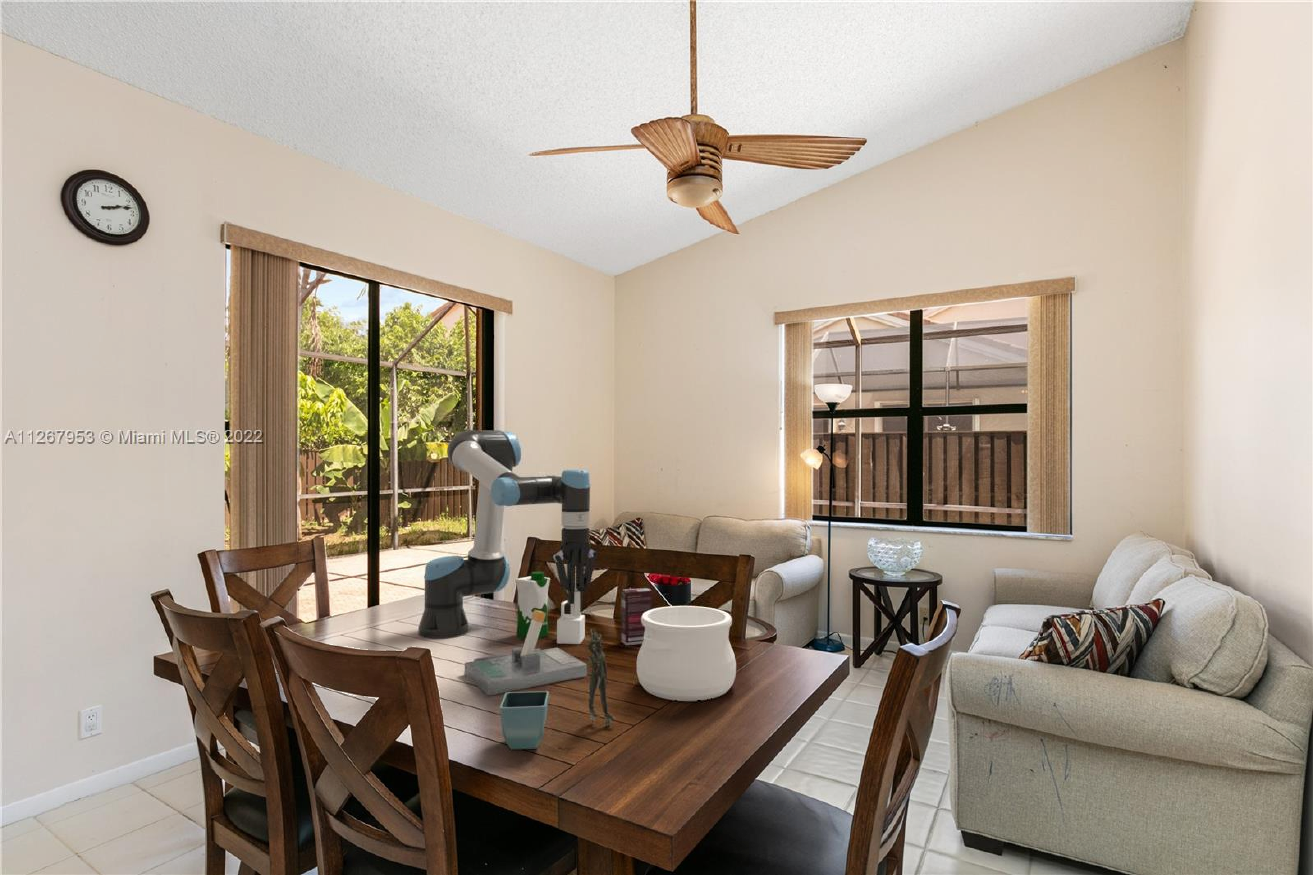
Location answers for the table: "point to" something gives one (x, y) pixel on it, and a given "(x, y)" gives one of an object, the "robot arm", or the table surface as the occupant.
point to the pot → (686, 653)
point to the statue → (598, 676)
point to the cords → (499, 656)
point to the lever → (533, 633)
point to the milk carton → (532, 602)
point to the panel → (524, 670)
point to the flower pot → (523, 718)
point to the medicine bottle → (570, 626)
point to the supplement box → (634, 614)
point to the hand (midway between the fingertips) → (575, 615)
